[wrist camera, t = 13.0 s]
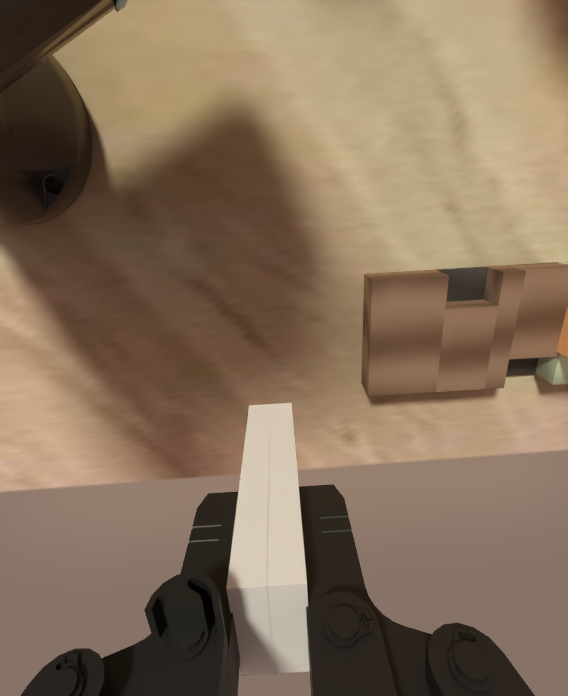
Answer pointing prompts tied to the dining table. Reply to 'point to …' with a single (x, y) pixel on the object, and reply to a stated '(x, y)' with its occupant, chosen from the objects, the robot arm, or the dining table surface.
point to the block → (564, 337)
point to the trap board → (463, 328)
